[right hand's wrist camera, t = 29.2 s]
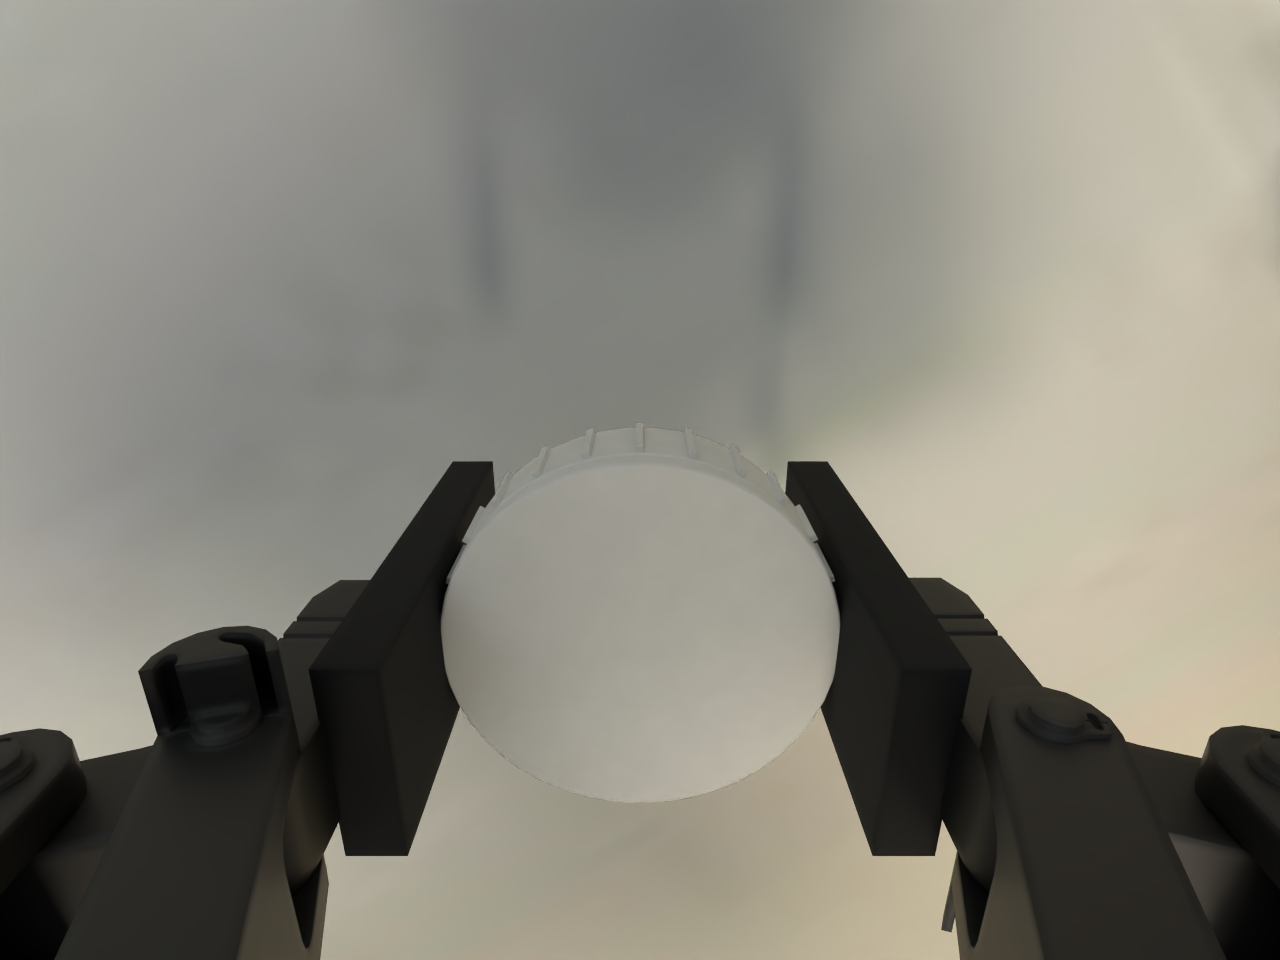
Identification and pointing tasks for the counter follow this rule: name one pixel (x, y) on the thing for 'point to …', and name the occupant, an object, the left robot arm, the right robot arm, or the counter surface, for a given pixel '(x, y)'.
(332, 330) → the counter surface
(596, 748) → the lid
